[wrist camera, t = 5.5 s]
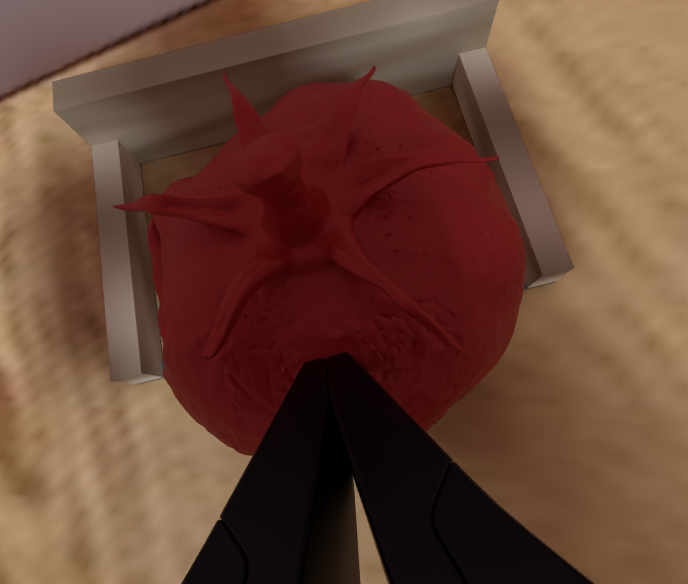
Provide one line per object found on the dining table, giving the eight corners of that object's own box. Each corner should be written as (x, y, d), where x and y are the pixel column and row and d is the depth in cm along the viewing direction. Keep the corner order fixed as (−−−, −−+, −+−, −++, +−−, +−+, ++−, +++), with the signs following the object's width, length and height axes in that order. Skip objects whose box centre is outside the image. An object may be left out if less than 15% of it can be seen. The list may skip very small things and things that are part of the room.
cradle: (554, 282, 15) (605, 243, 12) (137, 384, 16) (68, 375, 12) (467, 55, 18) (487, -29, 15) (113, 144, 18) (52, 81, 15)
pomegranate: (529, 244, 16) (707, -19, 7) (416, 528, 13) (478, 678, 4) (285, 154, 18) (190, -130, 9) (146, 381, 15) (-176, 282, 7)
